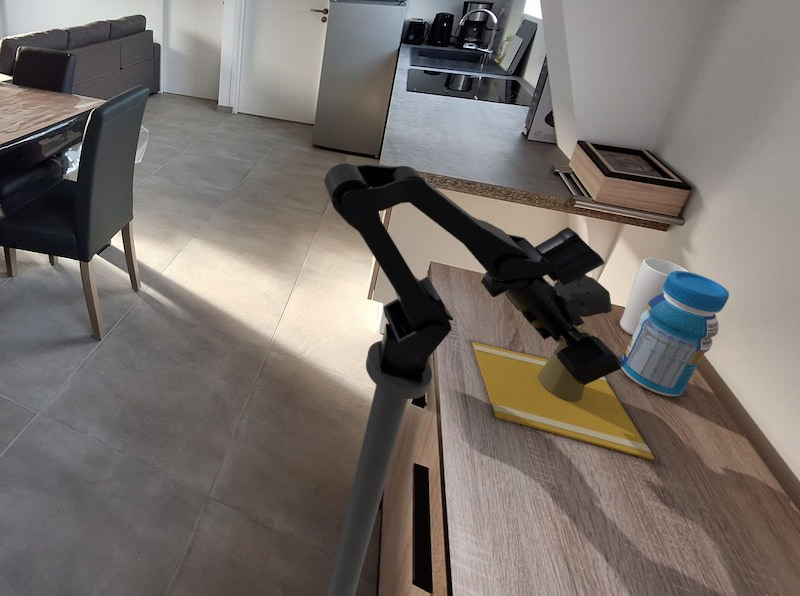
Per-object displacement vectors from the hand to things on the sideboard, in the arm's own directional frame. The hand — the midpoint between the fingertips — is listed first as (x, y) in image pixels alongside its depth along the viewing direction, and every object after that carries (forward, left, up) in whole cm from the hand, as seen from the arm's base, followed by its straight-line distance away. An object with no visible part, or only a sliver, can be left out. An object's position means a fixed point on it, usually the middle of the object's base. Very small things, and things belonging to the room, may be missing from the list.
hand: (582, 356), depth 73 cm
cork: (-1, 0, -7) cm, 7 cm away
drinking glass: (+19, +21, -7) cm, 29 cm away
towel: (-3, -2, -7) cm, 8 cm away
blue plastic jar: (+15, +8, -7) cm, 18 cm away
